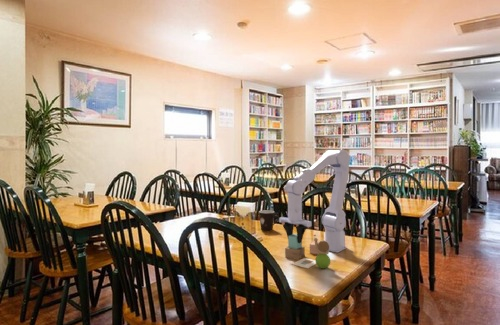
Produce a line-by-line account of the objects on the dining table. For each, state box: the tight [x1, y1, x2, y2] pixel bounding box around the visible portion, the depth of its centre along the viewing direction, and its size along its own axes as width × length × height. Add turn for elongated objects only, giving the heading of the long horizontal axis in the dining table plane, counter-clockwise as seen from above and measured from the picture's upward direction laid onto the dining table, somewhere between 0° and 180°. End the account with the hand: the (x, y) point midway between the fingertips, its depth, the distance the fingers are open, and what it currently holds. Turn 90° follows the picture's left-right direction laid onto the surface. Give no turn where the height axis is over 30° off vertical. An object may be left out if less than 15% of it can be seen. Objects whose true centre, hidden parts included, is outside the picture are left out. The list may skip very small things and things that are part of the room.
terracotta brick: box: [309, 241, 321, 255], centre depth 147 cm, size 4×4×4 cm
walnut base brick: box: [284, 245, 306, 261], centre depth 142 cm, size 6×6×4 cm
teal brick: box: [287, 233, 303, 249], centre depth 141 cm, size 4×4×5 cm
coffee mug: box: [258, 209, 279, 232], centre depth 187 cm, size 12×9×10 cm
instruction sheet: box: [292, 257, 317, 269], centre depth 133 cm, size 9×7×1 cm
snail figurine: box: [313, 234, 331, 269], centre depth 128 cm, size 5×6×12 cm
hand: (294, 241), depth 141 cm, fingers closed on teal brick, 4 cm apart
